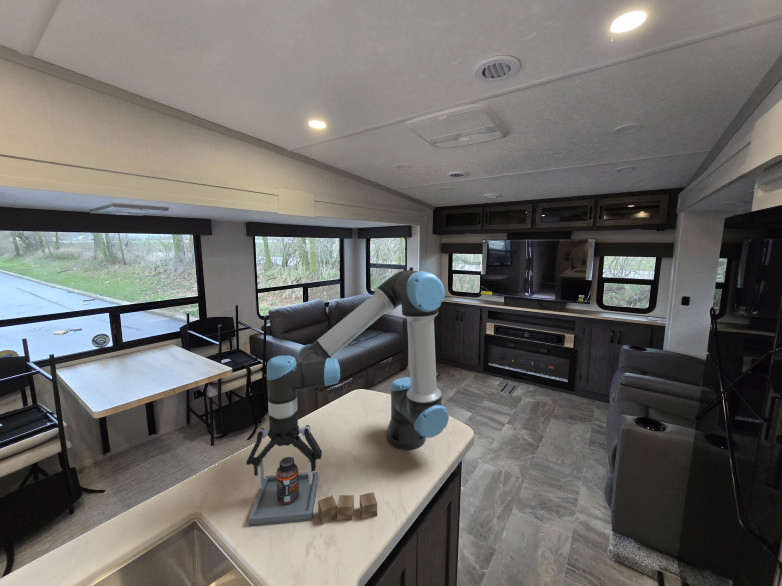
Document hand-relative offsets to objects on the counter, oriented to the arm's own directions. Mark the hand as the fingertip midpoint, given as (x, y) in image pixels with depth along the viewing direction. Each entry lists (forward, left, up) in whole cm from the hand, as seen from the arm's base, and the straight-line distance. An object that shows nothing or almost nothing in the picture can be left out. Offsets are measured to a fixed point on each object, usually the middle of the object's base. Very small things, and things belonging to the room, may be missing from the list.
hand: (286, 482), depth 89 cm
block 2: (-17, +7, -5) cm, 19 cm away
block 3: (-23, +7, -5) cm, 25 cm away
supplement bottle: (0, 0, -5) cm, 5 cm away
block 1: (-12, +7, -5) cm, 15 cm away
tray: (0, 0, -5) cm, 5 cm away
